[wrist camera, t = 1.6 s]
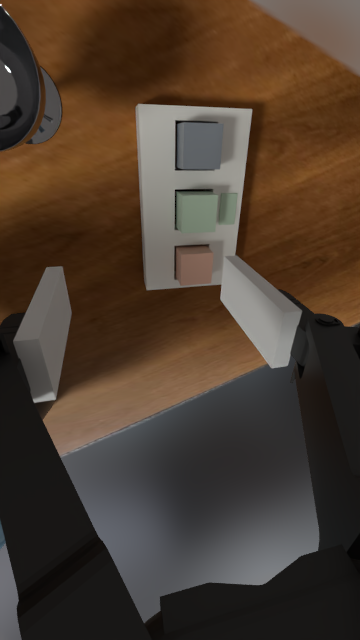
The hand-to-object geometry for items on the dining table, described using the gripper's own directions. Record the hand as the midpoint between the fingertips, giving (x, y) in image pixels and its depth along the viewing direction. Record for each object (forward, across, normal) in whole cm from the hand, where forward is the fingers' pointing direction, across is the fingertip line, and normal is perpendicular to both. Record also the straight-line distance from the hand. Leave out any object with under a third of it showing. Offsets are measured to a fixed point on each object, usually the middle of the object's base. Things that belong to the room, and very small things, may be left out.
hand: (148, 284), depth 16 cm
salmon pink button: (+21, -8, +7) cm, 23 cm away
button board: (+23, -8, 0) cm, 25 cm away
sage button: (+21, -8, 0) cm, 22 cm away
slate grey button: (+21, -8, -7) cm, 23 cm away
